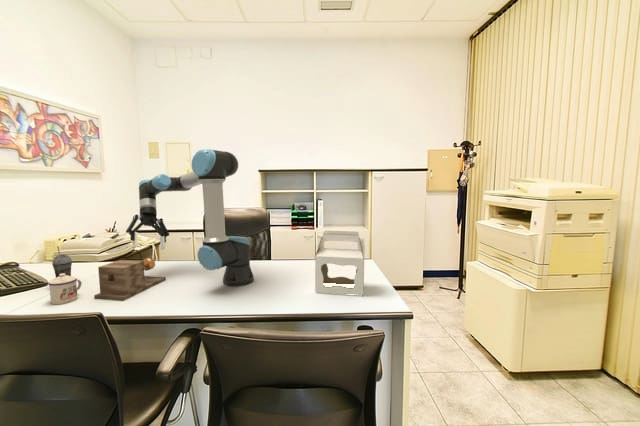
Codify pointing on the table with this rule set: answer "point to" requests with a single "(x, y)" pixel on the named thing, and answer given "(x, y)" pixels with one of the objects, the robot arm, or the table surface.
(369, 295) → the table surface
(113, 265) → the block
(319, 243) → the gable box
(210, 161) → the robot arm
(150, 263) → the plunger
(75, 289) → the teacup with lid
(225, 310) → the table surface
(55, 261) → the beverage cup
